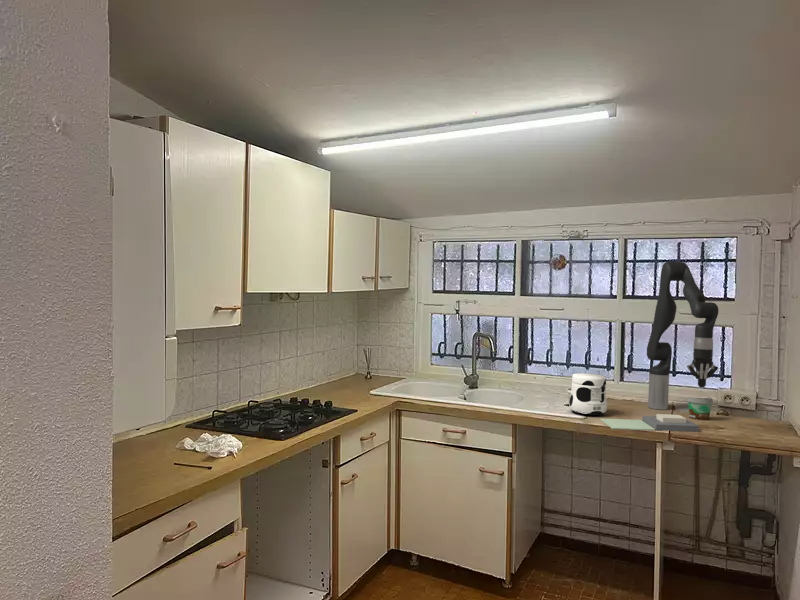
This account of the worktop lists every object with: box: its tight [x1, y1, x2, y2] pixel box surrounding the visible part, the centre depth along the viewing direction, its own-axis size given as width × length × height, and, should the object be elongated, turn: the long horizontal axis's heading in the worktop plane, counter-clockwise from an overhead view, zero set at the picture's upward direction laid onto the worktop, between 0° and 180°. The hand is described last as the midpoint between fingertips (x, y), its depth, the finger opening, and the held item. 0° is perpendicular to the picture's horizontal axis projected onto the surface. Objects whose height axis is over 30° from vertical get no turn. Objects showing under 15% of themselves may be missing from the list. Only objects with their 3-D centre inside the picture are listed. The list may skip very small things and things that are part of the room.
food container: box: [687, 395, 714, 421], centre depth 277 cm, size 12×6×10 cm, turn 105°
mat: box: [600, 418, 656, 431], centre depth 262 cm, size 17×18×1 cm
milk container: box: [568, 372, 608, 416], centre depth 283 cm, size 17×17×18 cm
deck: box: [641, 415, 700, 433], centre depth 261 cm, size 16×18×2 cm
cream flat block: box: [656, 413, 687, 423], centre depth 261 cm, size 7×10×2 cm
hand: (701, 387), depth 260 cm, fingers closed
